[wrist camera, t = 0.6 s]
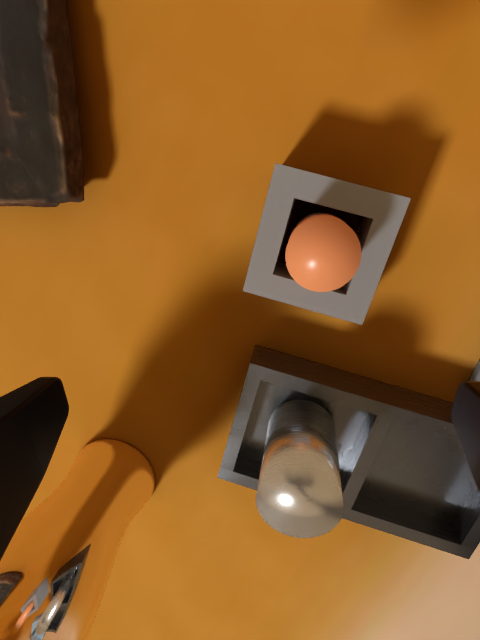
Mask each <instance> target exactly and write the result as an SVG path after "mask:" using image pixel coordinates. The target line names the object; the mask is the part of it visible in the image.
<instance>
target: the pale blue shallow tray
mask: <svg viewBox="0 0 480 640" xmlns="http://www.w3.org/2000/svg"><path fill="white" fill-rule="evenodd" d="M469 381H480V360H479V362H478V364H477V365H476V367H475V369H474V371H473V373H472V375H471V377H470V379H469Z"/></svg>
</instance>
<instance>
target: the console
mask: <svg viewBox="0 0 480 640" xmlns="http://www.w3.org/2000/svg"><path fill="white" fill-rule="evenodd" d="M295 199H300V200H303V201H307V202H311V203H315V204H319V205H322V206H326V207H330V208H334V209H338V210H341V211H345V212H349V213H353V214H356V215H360V216H363V218H362V221H361V223H360V226H359V229H358V232H357V237H358V239H359V242H360V246H361V261H360V265H359V267H358V270H357V272H356V273H355V275H354V276H353V277H352V279H351V280H350V281H349V282H348V283H346V284H345V285H344V286H342V287H340V288H338V289H336V290H332V291H328V292H315V291H311V290H308V289H306V288H304V287H302V286H301V285H299V284H298V283H297V282H296V281H295V280H294V279H293V278H292V276H291V275H290V273H289V271H288V269H287V266H286V265H284V264H280V263H278V259H279V256H280V252H281V249H282V245H283V242H284V238H285V235H286V231H287V228H288V224H289V220H290V217H291V213H292V210H293V206H294V203H295ZM410 200H411V198H409V197H405V196H401V195H397V194H393V193H389V192H385V191H381V190H378V189H374V188H370V187H366V186H362V185H358V184H354V183H350V182H347V181H343V180H339V179H335V178H331V177H327V176H323V175H319V174H316V173H312V172H308V171H304V170H300V169H296V168H292V167H288V166H285V165H281V164H277V163H275V167H274V171H273V175H272V179H271V183H270V186H269V190H268V194H267V198H266V202H265V206H264V210H263V214H262V218H261V221H260V225H259V229H258V233H257V237H256V241H255V245H254V249H253V253H252V257H251V260H250V264H249V268H248V272H247V276H246V280H245V284H244V288H243V291H244V292H248V293H251V294H255V295H258V296H262V297H265V298H269V299H272V300H276V301H279V302H283V303H286V304H290V305H293V306H297V307H300V308H304V309H307V310H311V311H314V312H318V313H321V314H325V315H328V316H332V317H335V318H339V319H342V320H346V321H349V322H353V323H356V324H360V325H362V324H363V322H364V319H365V317H366V314H367V311H368V309H369V306H370V304H371V301H372V298H373V296H374V293H375V291H376V288H377V285H378V283H379V280H380V278H381V275H382V272H383V270H384V267H385V265H386V262H387V260H388V257H389V254H390V252H391V249H392V247H393V244H394V241H395V239H396V236H397V234H398V231H399V228H400V226H401V223H402V221H403V218H404V216H405V213H406V210H407V208H408V205H409V203H410Z"/></svg>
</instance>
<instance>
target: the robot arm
mask: <svg viewBox="0 0 480 640" xmlns="http://www.w3.org/2000/svg"><path fill="white" fill-rule="evenodd" d="M68 412H69V405H68V401H67V398H66V394H65V391H64V387H63V384H62V381H61V380H60V379H59V378H58V377H40V378H37V379H35V380H33V381H31V382H30V383H28V384H26V385H24V386H22V387H20V388H18V389H16V390H14V391H12V392H10V393H8V394H6V395H4V396H2V397H0V561H1V559H2V557H3V555H4V553H5V551H6V549H7V547H8V545H9V543H10V541H11V539H12V537H13V536H14V534H15V532H16V530H17V528H18V526H19V524H20V522H21V520H22V518H23V516H24V514H25V512H26V510H27V508H28V506H29V504H30V502H31V501H32V499H33V497H34V495H35V493H36V491H37V489H38V487H39V485H40V483H41V481H42V479H43V477H44V475H45V472H46V470H47V468H48V465H49V463H50V460H51V458H52V455H53V453H54V450H55V447H56V445H57V442H58V440H59V437H60V434H61V432H62V429H63V427H64V424H65V422H66V419H67V416H68ZM451 417H452V422H453V425H454V428H455V430H456V433H457V436H458V439H459V441H460V444H461V447H462V449H463V452H464V455H465V457H466V460H467V463H468V466H469V468H470V471H471V474H472V476H473V479H474V481H475V484H476V486H477V488H478V490H479V492H480V381H463V382H462V383H460V385H459V387H458V390H457V393H456V397H455V400H454V404H453V407H452V412H451Z"/></svg>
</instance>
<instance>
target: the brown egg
mask: <svg viewBox="0 0 480 640" xmlns="http://www.w3.org/2000/svg"><path fill="white" fill-rule="evenodd" d="M285 260H286V266H287V269H288V271H289V273H290V275H291V276H292V278H293V279H294V280H295V281H296V282H297V283H298V284H299V285H301V286H302V287H304V288H306V289H308V290H311V291H315V292H328V291H332V290H336V289H338V288H340V287H342V286H344V285H345V284H346V283H348V282H349V281H350V280H351V279H352V277H353V276H354V275H355V273H356V272H357V270H358V267H359V265H360V261H361V246H360V242H359V239H358V237H357V235H356V234H355V232H354V231H353V230H352V229H351V228H350V227H349V226H348V225H347V224H346V223H345V222H343V221H342V220H341V219H340V218H339V217H337V216H335V215H333V214H331V213H326V212H317V213H312V214H310V215H307V216H305V217H304V218H302V219H301V220H300V221H299V222H298V223H297V224H296V226H295V227H294V229H293V231H292V233H291V236H290V239H289V241H288V244H287V247H286V253H285Z"/></svg>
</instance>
